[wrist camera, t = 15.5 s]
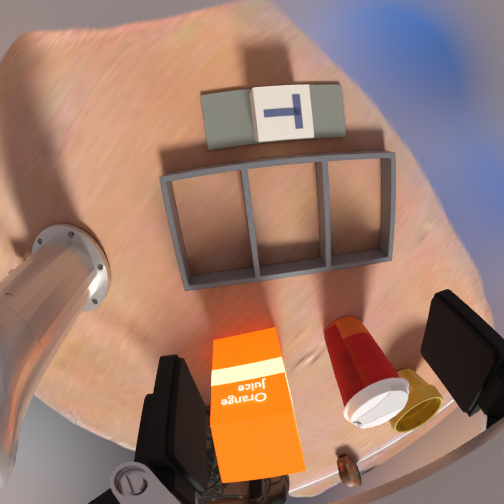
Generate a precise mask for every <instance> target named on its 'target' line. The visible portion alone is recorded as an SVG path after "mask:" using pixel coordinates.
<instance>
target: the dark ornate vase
mask: <svg viewBox="0 0 504 504" xmlns="http://www.w3.org/2000/svg"><path fill="white" fill-rule="evenodd" d="M205 408H206V444H207V481H208V489H207V491H203V498H197V499H198V504H284V503H285V501H286V497H287V494H288V492H289V476H288V474H286V475H281V476H275V477H269V478H262V479H255V480H247V481H238V482H228V483H222V479H221V475H220V470H219V466H218V461H217V456H216V451H215V446H214V441H213V436H212V431H211V427H210V418H211V405H209V406H206V407H205Z"/></svg>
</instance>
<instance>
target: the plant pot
mask: <svg viewBox="0 0 504 504" xmlns="http://www.w3.org/2000/svg"><path fill="white" fill-rule="evenodd" d="M397 374H398V375H399V377H400V378H404V379H406V380H407V381H408V383H409V387H408V389H409V394H408V401H407V403H406V405H405V407H404V408H403V409H402V410H401V411H400V412H399V413H398V414H397V415H396V416H394V417H393V418H391V419H390V420H389V421H390V424H391V426H392V428H393V430H394V431H395V432H397V433H405V432H409V431H411V430H414V429H416V428H418V427H420V426H421V425H423V424H424V423H426V422H427V421H429V420H430V419H431V418H432V417H433V416H434V415H435V414H436V413H437V412H438V411H439V410H440V408H441V407H442V404H443V398H442V396H441V394H440V393H439V391H438V390H437V389H436V387H435V386H433V385H430V384H428V383H426V382H425V381H424V380H423V379H422V378H421V377H420V376H419V375H418V374H417V373H415V372H414V371H413V370H412V369H409V368H406V369H402V370H399V371H397Z"/></svg>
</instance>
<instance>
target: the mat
mask: <svg viewBox="0 0 504 504" xmlns="http://www.w3.org/2000/svg"><path fill="white" fill-rule="evenodd" d="M251 90H252V89H243V90H234V91H226V92H219V93H212V94H206V95H201V103H202V110H203V117H204V125H205V132H206V139H207V146H208V150H213V149H220V148H226V147H234V146H241V145H249V144H258V143H267V142H277V141H288V140H300V139H315V138H334V137H346V126H345V115H344V105H343V96H342V87H341V85H309V90H310V99H311V108H312V118H313V129H314V138H299V139H286V140H274V141H264V142H258V141H256V140H255V139H254V131H253V122H252V114H251V105H250V97H249V93H250V92H251Z"/></svg>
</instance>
